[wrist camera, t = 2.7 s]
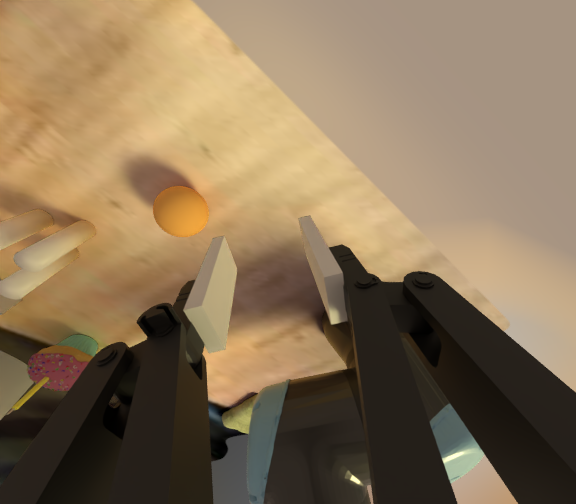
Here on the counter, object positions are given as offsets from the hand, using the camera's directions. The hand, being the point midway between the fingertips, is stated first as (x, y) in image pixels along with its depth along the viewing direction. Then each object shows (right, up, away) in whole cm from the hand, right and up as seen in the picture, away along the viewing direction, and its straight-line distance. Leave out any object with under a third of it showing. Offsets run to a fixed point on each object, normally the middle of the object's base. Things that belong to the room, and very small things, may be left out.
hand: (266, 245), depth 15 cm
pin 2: (-29, 0, +16) cm, 33 cm away
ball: (-11, +4, +12) cm, 17 cm away
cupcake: (-34, -16, +24) cm, 45 cm away
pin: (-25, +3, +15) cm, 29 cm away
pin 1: (-30, +4, +13) cm, 33 cm away
